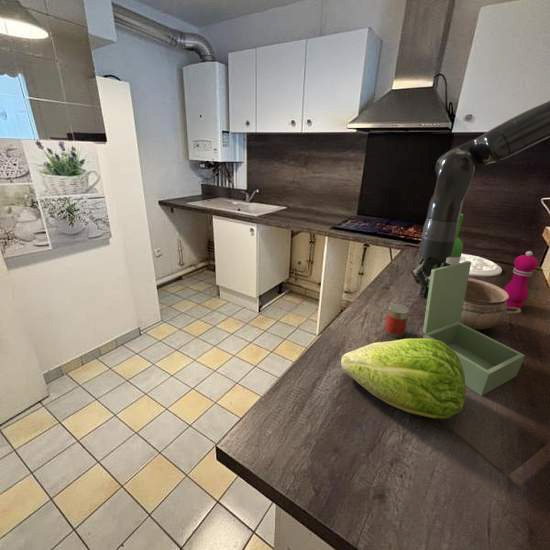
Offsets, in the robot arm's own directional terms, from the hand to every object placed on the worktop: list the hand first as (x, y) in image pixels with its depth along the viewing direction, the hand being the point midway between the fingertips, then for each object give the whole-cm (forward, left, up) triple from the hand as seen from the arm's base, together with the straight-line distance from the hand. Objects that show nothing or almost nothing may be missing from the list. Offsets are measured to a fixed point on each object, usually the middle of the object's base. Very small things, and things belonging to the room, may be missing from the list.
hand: (424, 297), depth 80 cm
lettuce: (+22, +13, -13) cm, 29 cm away
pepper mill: (-46, +2, -13) cm, 48 cm away
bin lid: (0, +6, +3) cm, 7 cm away
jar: (+5, -3, -13) cm, 14 cm away
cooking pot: (-19, +2, -13) cm, 23 cm away
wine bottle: (-33, -16, -13) cm, 39 cm away
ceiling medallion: (-71, -30, -13) cm, 78 cm away
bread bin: (0, +15, -13) cm, 19 cm away
